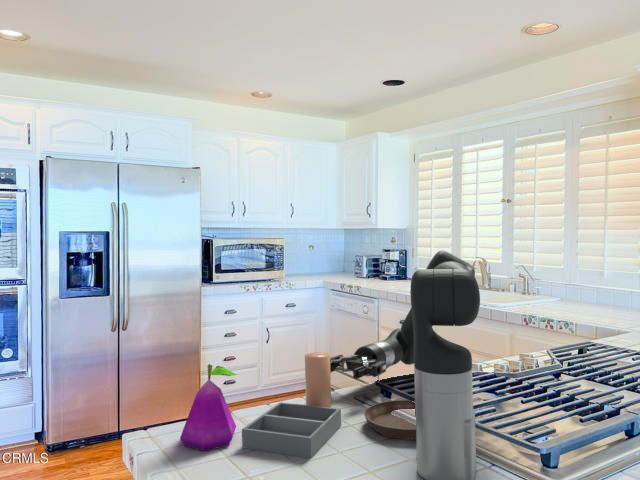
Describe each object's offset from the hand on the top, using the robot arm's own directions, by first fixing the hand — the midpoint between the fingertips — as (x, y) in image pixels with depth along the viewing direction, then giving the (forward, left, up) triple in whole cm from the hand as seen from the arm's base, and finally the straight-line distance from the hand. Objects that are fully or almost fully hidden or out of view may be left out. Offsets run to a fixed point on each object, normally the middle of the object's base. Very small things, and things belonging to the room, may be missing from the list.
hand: (339, 372), depth 118 cm
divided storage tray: (+2, +21, -7) cm, 22 cm away
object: (-18, +9, -8) cm, 21 cm away
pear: (+17, +28, -8) cm, 34 cm away
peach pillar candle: (+2, +8, -7) cm, 11 cm away
